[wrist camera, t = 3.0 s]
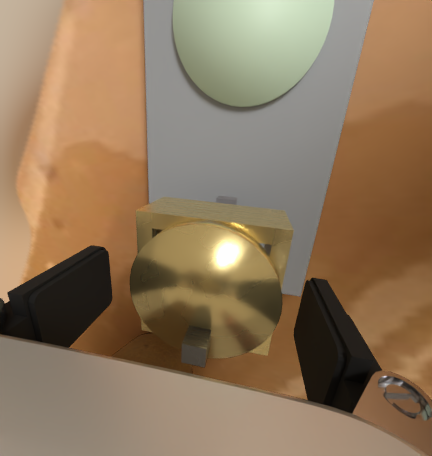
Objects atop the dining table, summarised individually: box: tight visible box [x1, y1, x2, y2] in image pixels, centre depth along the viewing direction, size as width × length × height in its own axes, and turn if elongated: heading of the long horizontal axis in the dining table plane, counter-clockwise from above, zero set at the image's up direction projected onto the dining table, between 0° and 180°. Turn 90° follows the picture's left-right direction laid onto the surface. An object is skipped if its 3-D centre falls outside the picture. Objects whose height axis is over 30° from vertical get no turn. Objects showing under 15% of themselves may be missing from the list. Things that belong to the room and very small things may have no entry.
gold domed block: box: [130, 197, 294, 367], centre depth 10 cm, size 6×6×5 cm
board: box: [144, 0, 374, 297], centre depth 12 cm, size 22×13×9 cm, turn 176°
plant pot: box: [111, 333, 193, 374], centre depth 18 cm, size 15×15×16 cm
